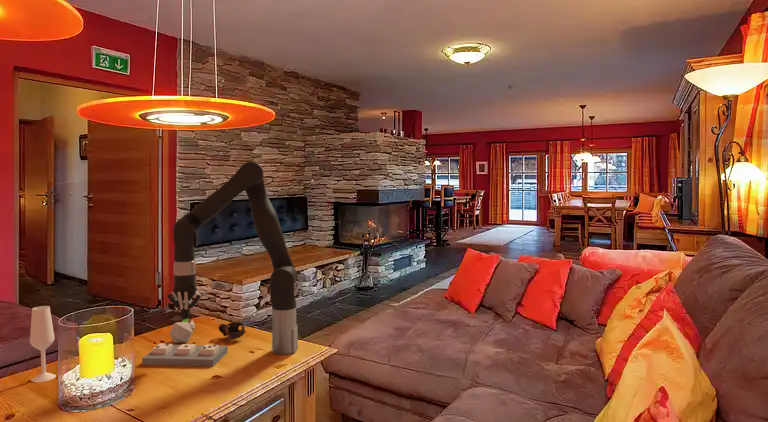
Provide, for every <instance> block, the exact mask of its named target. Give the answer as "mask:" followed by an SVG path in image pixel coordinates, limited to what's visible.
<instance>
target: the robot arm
mask: <svg viewBox="0 0 768 422" xmlns="http://www.w3.org/2000/svg"><path fill="white" fill-rule="evenodd" d="M244 191H245V193H246V196H247V199H248V202H249V206H250V211H251V217H252V220H253V225H254V227H255V231H256V234H257V237H258V238H259V241H260V243H261V244H262V245H263V246H262V247H264V249H265V250H266V252H267V254H268V255H269V258H270V260H271V264H272V265H271V266H272V268H273V271H272V273H271V275H270V278H269V293H270V294H269V296H270V302H271V339H272V341H271V342H272V348H271V349H272V353H273V354H276V355H289V354H295V353H296V351H297V350H298V348H299V345H298V344H299V343H298V340H299V337H298V334H299V333H298V331H299V329H298V326H299V325H298V324H297V300H296V298H295V284H296V283H297V281H298V273H297V270H296V268H295V266H294V265H295V264H294V263H293V261H292V259H291V256H290V253H289V251H288V249H287V245H286V241H285V237H284V234H283V230H282V227H281V223H280V221H279V218H278V215H277V212H276V210H275V208H274V206H273V204H272V202H271V200H270V198H269V196H268V193H267V189H266V183H265V180H264V169H263V167H262V165H261V164H260V163H259V162H256V161H246V162H244V163H243V164H241V165H240V167H239V168H238V169H237V171H236V172H235V173H234V174H233V176H232V177H230V178H229V180H227V181H226V182H225V183H224V184H223V185H222V186H221V187H219V188H218V189H216V190H215V191H213V192H212V193H211V194H209V196H207V197H206V198H204V199H203V200H202V201H201V202H199V203H198V204H197V205H196V206H195V207H194V208H193V209H191V211H188V213H186V214H185V215H183V216H182V217H180V218H179V219H177V221H175V223H174V225H173V228H172V233H173V243H174V244H173V245H174V246H173V247H174V249H173V270H172V271H173V286H174V287H173V289H172V291H171V292H170V293H168V294H167V295H166V296H167V298H168V299H169V301H170V302H171V303H172V304H173V306H174V307H175V308H176V309H180V318H181V319H182V320H185V319H190V317H191V309H192V308H194V307H195V306H196V305H197V304H198V303H199V301H200V300H201V299H202V297H203V296H204V295H203V293H199V292H198V289H197V287H196V286H197V283H196V282H197V278H196V273H197V272H196V270H197V269H196V267H197V266H196V262H195V261H196V259H195V258H196V256H195V253H196V252H195V246H194V245H195V244H194V242H195V240H194V239H195V232H196V231H197V230H198V229H199V228H200V227H202V225H204V224H206V223H208V222H209V221H210V220H211V219H213V218H214V217H215V216H217V215H218V214H219V213H220V212H221V211H223V210H224V208H226V207H227V206H228V205H229V204H230V203H231V202H232V201H233V200H234V199H235V198H236V197H237V196H238V195H240V194H242V193H243V192H244ZM193 297H194V298H193ZM192 299H193V300H192Z"/></svg>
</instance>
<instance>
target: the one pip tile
mask: <svg viewBox="0 0 768 422" xmlns="http://www.w3.org/2000/svg"><path fill="white" fill-rule="evenodd" d="M180 345H181V346H180V347H178V348H177V355H191V354H192V353H194V352H195V351H196V345H197V344H194V343H193V344H191V343H183V344H182V343H181V344H180Z"/></svg>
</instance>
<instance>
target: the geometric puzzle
mask: <svg viewBox="0 0 768 422" xmlns="http://www.w3.org/2000/svg"><path fill="white" fill-rule="evenodd" d="M181 322H189V325H190V327H191V329H192V331H193V332H194V331H195V330H196V326H197V322H195V321H194V320H193V319H192V318H188V319H182V320H181Z"/></svg>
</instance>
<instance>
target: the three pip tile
mask: <svg viewBox="0 0 768 422" xmlns="http://www.w3.org/2000/svg"><path fill="white" fill-rule="evenodd" d="M219 346H220V344H205V346H204V347H203V348H201V349H200V350H201V355H216V354H217V353H218V352H219Z"/></svg>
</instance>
